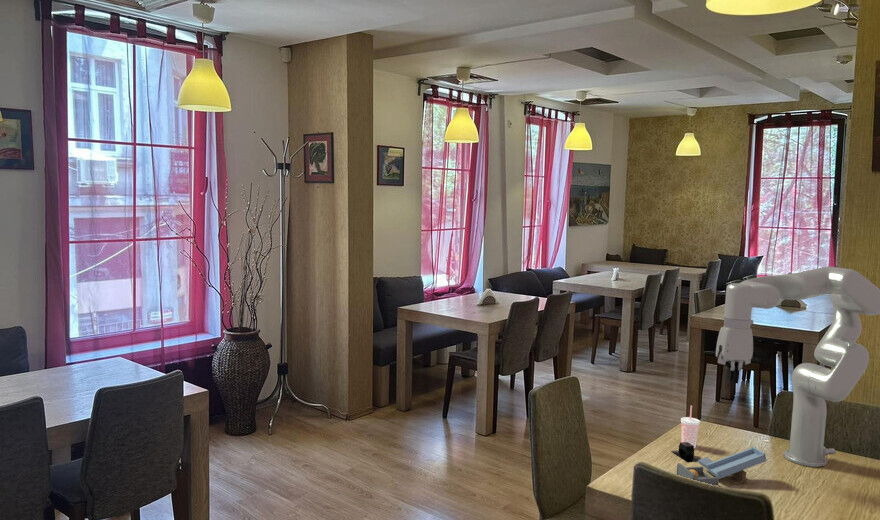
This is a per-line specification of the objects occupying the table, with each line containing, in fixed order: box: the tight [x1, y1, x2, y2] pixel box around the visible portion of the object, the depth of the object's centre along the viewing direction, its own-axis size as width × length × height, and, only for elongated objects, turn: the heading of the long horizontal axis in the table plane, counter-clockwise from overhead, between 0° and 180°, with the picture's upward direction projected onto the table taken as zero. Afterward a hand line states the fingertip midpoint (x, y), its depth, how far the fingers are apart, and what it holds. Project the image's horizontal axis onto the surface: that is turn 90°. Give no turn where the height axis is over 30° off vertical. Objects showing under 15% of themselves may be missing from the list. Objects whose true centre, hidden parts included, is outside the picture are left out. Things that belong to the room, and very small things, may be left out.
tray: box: [676, 462, 720, 486], centre depth 199 cm, size 8×8×4 cm
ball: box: [690, 469, 698, 478], centre depth 199 cm, size 3×3×3 cm
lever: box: [697, 446, 767, 480], centre depth 204 cm, size 16×11×3 cm
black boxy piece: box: [670, 441, 700, 463], centre depth 219 cm, size 12×7×5 cm, turn 14°
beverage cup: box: [680, 405, 701, 449], centre depth 227 cm, size 6×6×14 cm
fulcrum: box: [723, 470, 753, 486], centre depth 201 cm, size 6×7×4 cm
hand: (732, 382), depth 208 cm, fingers closed
